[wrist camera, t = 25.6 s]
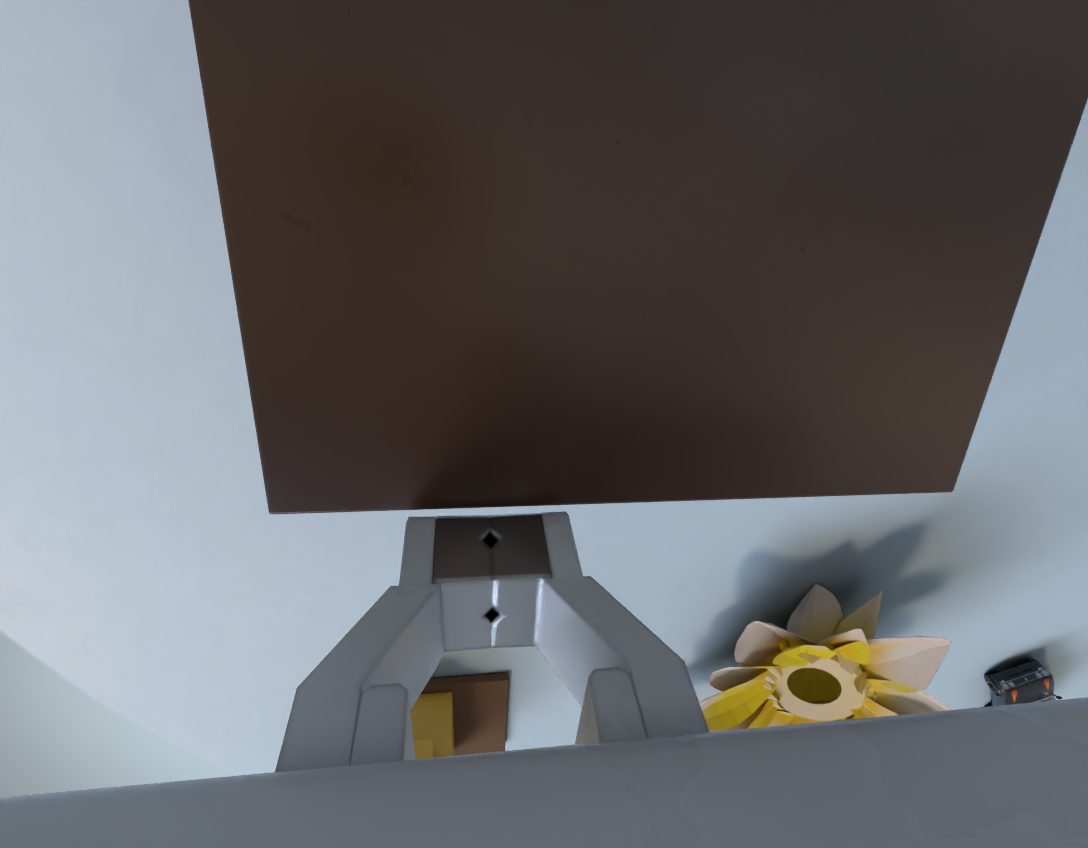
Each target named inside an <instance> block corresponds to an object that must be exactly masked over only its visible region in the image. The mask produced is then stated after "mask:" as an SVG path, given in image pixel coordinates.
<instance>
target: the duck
mask: <svg viewBox="0 0 1088 848" xmlns="http://www.w3.org/2000/svg"><path fill="white" fill-rule="evenodd" d="M410 712H411V721H412V730H413V739H414V748H415V757H416V759H426V758H437V757H448V756H454V725H453V694H452V692H444V693H431V694H420V696H419V697H418V699H417V701H416V702H415V704H414V705H413V707H412V709H411V710H410Z"/></svg>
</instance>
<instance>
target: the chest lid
mask: <svg viewBox="0 0 1088 848" xmlns="http://www.w3.org/2000/svg"><path fill="white" fill-rule="evenodd" d="M189 7H190V13H191V19H192V26H193V32H194V38H195V45H196V51H197V57H198V64H199V70H200V76H201V83H202V89H203V96H204V102H205V108H206V115H207V121H208V127H209V134H210V140H211V146H212V153H213V159H214V166H215V172H216V178H217V185H218V191H219V197H220V204H221V210H222V216H223V223H224V229H225V236H226V242H227V248H228V255H229V261H230V267H231V274H232V280H233V286H234V293H235V299H236V305H237V312H238V318H239V325H240V331H241V337H242V344H243V350H244V356H245V363H246V369H247V375H248V382H249V388H250V395H251V401H252V407H253V414H254V420H255V426H256V433H257V439H258V445H259V452H260V458H261V465H262V471H263V477H264V484H265V490H266V496H267V503H268V509H269V513H270V514H297V513H328V512H358V511H389V510H419V509H450V508H481V507H511V506H542V505H572V504H603V503H633V502H664V501H694V500H725V499H756V498H786V497H817V496H847V495H878V494H908V493H939V492H952V491H953V490H954V487H955V484H956V481H957V478H958V475H959V472H960V469H961V466H962V463H963V461H964V458H965V455H966V452H967V449H968V446H969V443H970V440H971V437H972V434H973V431H974V428H975V426H976V423H977V420H978V417H979V414H980V411H981V408H982V405H983V402H984V399H985V396H986V394H987V391H988V388H989V385H990V382H991V379H992V376H993V373H994V370H995V367H996V364H997V361H998V359H999V356H1000V353H1001V350H1002V347H1003V344H1004V341H1005V338H1006V335H1007V332H1008V329H1009V327H1010V324H1011V321H1012V318H1013V315H1014V312H1015V309H1016V306H1017V303H1018V300H1019V297H1020V294H1021V292H1022V289H1023V286H1024V283H1025V280H1026V277H1027V274H1028V271H1029V268H1030V265H1031V262H1032V260H1033V257H1034V254H1035V251H1036V248H1037V245H1038V242H1039V239H1040V236H1041V233H1042V230H1043V227H1044V225H1045V222H1046V219H1047V216H1048V213H1049V210H1050V207H1051V204H1052V201H1053V198H1054V195H1055V193H1056V190H1057V187H1058V184H1059V181H1060V178H1061V175H1062V172H1063V169H1064V166H1065V163H1066V160H1067V158H1068V155H1069V152H1070V149H1071V146H1072V143H1073V140H1074V137H1075V134H1076V131H1077V128H1078V125H1079V123H1080V120H1081V117H1082V114H1083V111H1084V108H1085V105H1086V102H1087V99H1088V0H189Z"/></svg>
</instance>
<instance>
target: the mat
mask: <svg viewBox="0 0 1088 848" xmlns="http://www.w3.org/2000/svg"><path fill="white" fill-rule="evenodd" d="M508 687H509V674H508V673H496V674H483V675H469V676H456V677H442V678H430V680H429V681H428V683H427V684H426V686H425V688H424V689H423V691H422V692H421V694H431V693H444V692H452V694H453V725H454V756H458V755H469V754H480V753H490V752H501V751H505V738H506V721H507V704H508Z"/></svg>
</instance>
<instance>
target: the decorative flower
mask: <svg viewBox="0 0 1088 848" xmlns="http://www.w3.org/2000/svg"><path fill="white" fill-rule="evenodd" d="M882 592H883V591H881V592H880V593H879V594H877V595H875V596H874V597H872V598H871V599H870V600H869V601H867V602H866V603H865V604H864V605H862V606H861V607H860V608H858V609H857V610H855V611H854V612H853V613H851V614H850V615H848V616H847V617H846V618H844V619H843V615H842V611H841V607H840V604H839V603H838V601H837V599H836V598H835V596H834V594H832V593H831V592H829V591H828V590H826V589H825V588H824V587H822V586H820V585H816V584H815V585H814V586H813V587H812V588H811V589H810V590H809V592H808V593H807V594H806V595H805V597H804V598H803V599H802V600H801V602H800V603H799V605H798V606H797V607H796V609H795V610H794V612H793V613H792V614H791V616H790V618H789V621H788V623H787V630H784V629H782V628H780V627H777V626H775V625H773V624H771V623H764V622H759V621H754V622H752V623H750V624H748V625H747V627H746V628H745V630H744V631H743V633H742V635H741V636H740V638H739V639H738V641H737V644H736V648H735V652H734V654H735V660H736V662H740V663H743V664H744V665H742V666H741V667H726V668H723V669H720V670H717V671H714V672H712V674H711V677H710V679H709V683H710V685H711V686H713V687H714V688H716V689H718V690H721V691H724V692H721V693H719V694H716V695H714V696H712V697H709V698H707V699H705V700H703V701H701V702H699V704H700V707H701V709H702V712H703V715H704V718H705V720H706V723H707V726H708V729H709V732H719V731H729V730H740V729H751V728H762V727H773V726H784V725H795V724H806V723H817V722H827V721H838V720H849V719H860V718H871V717H882V716H893V715H904V714H915V713H925V712H936V711H947V710H952V709H951V708H949V707H948V706H946V705H945V704H944V703H942V702H941V701H939V700H937V699H936V698H934V697H932V696H930V695H929V694H927V693H925V692H924V691H922V690H924V689H926V688H927V687H928V685H929V684H930V682H931V680H932V678H933V677H934V675H935V673H936V672H937V670H938V668H939V666H940V665H941V663H942V661H943V659H944V657H945V655H946V653H947V652H948V649H949V646H950V643H951V641H949V640H947V639H945V638H938V637H921V636H919V637H897V638H886V639H873V637H874V635H875V632H876V629H877V625H878V620H879V614H880V603H881V598H882Z"/></svg>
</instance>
